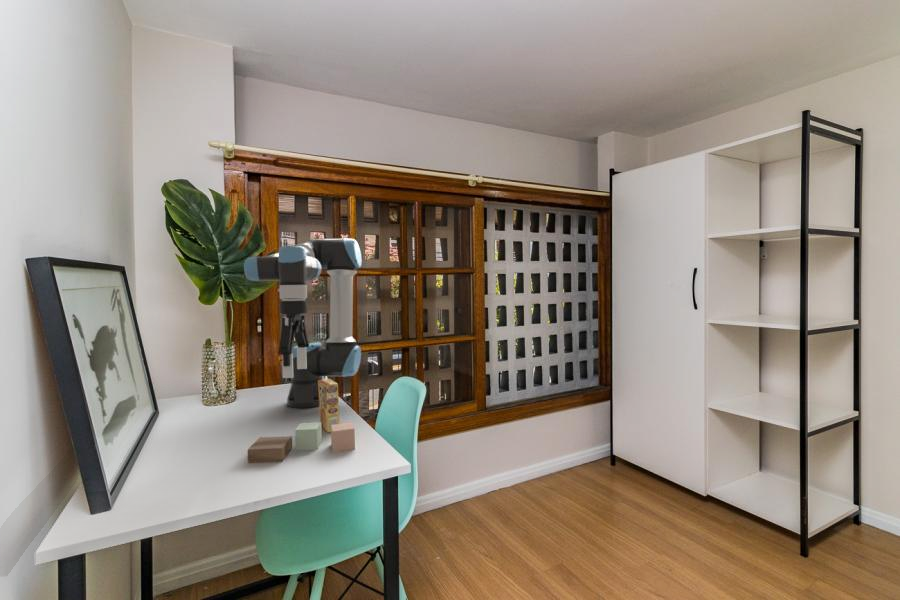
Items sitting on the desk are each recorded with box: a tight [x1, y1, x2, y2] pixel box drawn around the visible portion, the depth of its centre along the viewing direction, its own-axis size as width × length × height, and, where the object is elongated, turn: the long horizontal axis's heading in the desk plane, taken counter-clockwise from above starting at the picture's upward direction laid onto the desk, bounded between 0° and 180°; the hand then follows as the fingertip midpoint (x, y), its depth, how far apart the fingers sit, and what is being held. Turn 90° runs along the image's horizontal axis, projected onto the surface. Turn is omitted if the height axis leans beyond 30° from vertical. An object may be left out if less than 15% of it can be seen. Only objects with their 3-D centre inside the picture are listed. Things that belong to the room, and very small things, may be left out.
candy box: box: [318, 378, 340, 433], centre depth 144 cm, size 9×4×15 cm, turn 33°
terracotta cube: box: [330, 421, 356, 453], centre depth 128 cm, size 6×6×6 cm
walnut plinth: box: [247, 435, 293, 464], centre depth 123 cm, size 9×9×4 cm
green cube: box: [294, 421, 323, 451], centre depth 129 cm, size 6×6×6 cm
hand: (295, 373), depth 129 cm, fingers open, 13 cm apart
